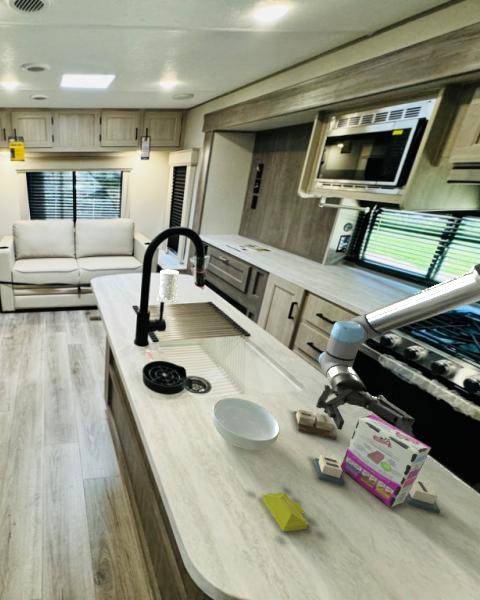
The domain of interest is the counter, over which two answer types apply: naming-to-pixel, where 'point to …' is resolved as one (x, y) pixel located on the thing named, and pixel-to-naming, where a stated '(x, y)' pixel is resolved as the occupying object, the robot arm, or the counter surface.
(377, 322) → the robot arm
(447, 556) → the counter surface
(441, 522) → the counter surface
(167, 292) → the decorative container
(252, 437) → the cereal bowl
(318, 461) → the cream blocks on trays
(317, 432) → the cream block pair
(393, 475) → the candy bar box
